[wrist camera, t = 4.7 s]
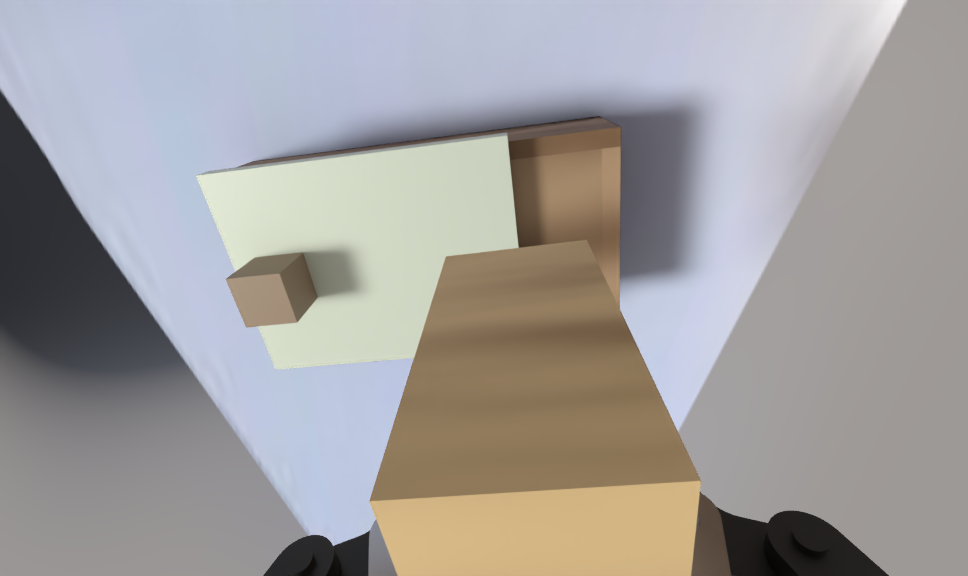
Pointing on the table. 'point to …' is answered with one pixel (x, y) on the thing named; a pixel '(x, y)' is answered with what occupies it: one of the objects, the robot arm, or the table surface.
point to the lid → (357, 242)
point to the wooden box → (556, 184)
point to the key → (533, 432)
